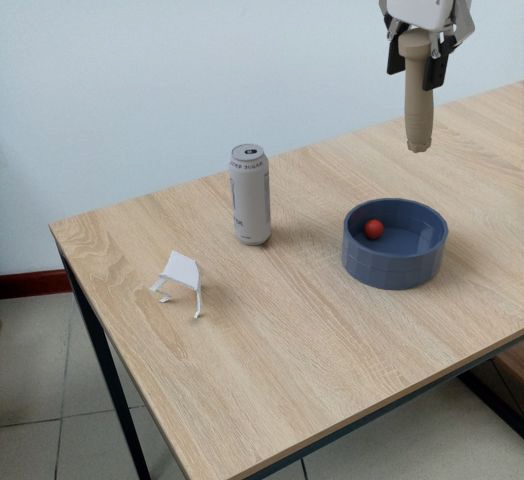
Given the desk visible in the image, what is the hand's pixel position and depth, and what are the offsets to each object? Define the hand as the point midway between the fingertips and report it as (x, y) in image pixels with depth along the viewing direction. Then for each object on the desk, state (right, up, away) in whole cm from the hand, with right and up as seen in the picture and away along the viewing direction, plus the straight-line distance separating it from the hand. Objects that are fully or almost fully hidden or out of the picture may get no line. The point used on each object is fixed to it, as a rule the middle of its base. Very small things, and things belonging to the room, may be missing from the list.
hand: (414, 78), depth 70 cm
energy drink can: (-22, -17, +19) cm, 33 cm away
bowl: (0, -22, +13) cm, 25 cm away
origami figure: (-31, -28, +9) cm, 43 cm away
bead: (-2, -17, +14) cm, 22 cm away
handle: (+3, -7, +7) cm, 10 cm away
